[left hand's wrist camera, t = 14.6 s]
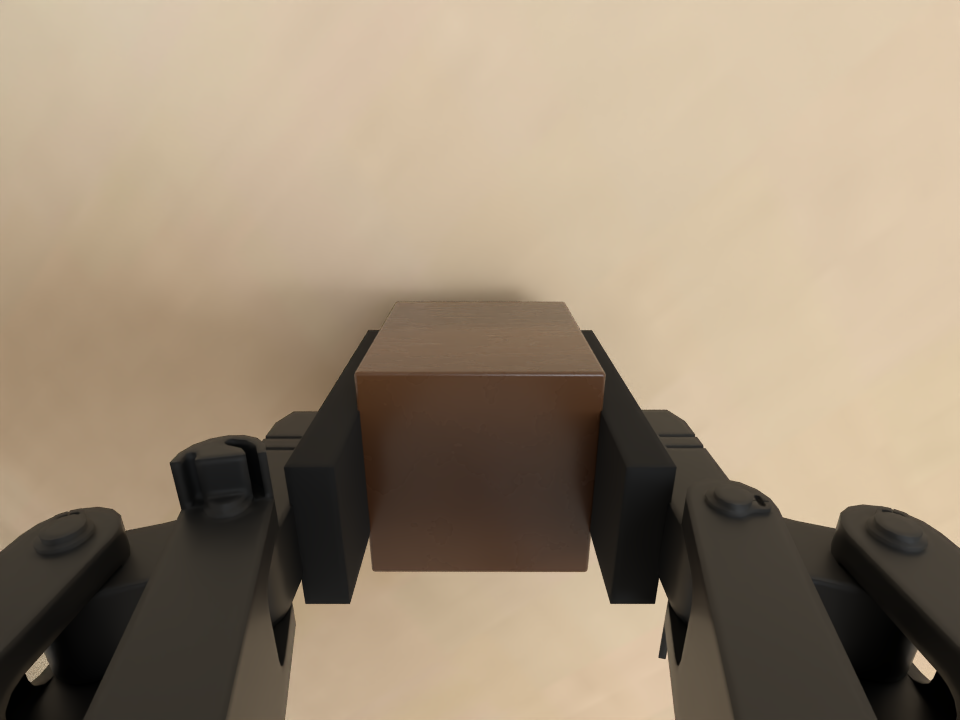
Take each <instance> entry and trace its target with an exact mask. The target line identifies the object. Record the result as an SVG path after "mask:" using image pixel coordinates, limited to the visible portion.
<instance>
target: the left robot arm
mask: <svg viewBox="0 0 960 720" xmlns="http://www.w3.org/2000/svg"><path fill="white" fill-rule="evenodd" d="M379 331H380V330H368V332H367V334H366V335H365V337H364V338H363V340H362V342H361V343H360V345H359V346H358V348H357V350H356V351H355V353H354V355H353V356H352V358H351V359H350V361H349V363H348V364H347V366H346V367H345V369H344V371H343V372H342V374H341V375H340V377H339V379H338V380H337V382H336V384H335V385H334V387H333V388H332V390H331V392H330V393H329V395H328V396H327V398H326V400H325V401H324V403H323V405H322V406H321V408H320V409H319V411H318V412H292V413H291V414H289V415H288V416H286V417H284V418H283V419H281V420H280V421H278V422H276V423H275V425H274V426H273V427H272V429H271V430H270V431H269V433H268V434H267V435H266V439H263V441H260V440H259V439H258V438H255V437H250V436H246V435H228V436H222V437H217V438H212V439H208V440H205V441H203V442H200V443H197V444H194V445H192V446H190V447H189V448H187V449H185V450H183V451H182V452H180V453H178V454H177V456H176V457H175V458H174V459H173V460H172V461H171V462H170V466H171V470H172V474H173V478H174V482H175V486H176V490H177V494H178V498H179V502H180V506H181V512H180V514H179V516H178V518H177V520H175V521H171V522H167V523H163V524H158V525H153V526H148V527H143V528H138V529H133V530H128V531H125V528H124V525H123V521H122V518H121V515H120V514H118V513H117V512H116V511H115V510H113V509H109V508H102V507H93V508H83V509H76V510H71V511H70V512H64V513H61V514H58V515H55V516H54V517H52V518H50V519H48V520H46V521H44V522H41V523H39V524H37V525H36V526H34V527H33V528H31V529H30V530H28V531H27V532H25V533H24V534H22V535H21V536H19V537H18V538H17V539H16V540H14V541H13V542H12V543H11V544H9V545H8V546H7V547H6V548H5V549H3V550H2V551H1V552H0V720H285V714H286V705H287V696H288V687H289V679H290V670H291V661H292V652H293V644H294V635H295V626H296V623H295V616H294V610H293V604H292V601H293V599H294V596H295V594H296V592H297V589H298V587H299V584H300V582H301V580H302V585H303V591H304V597H305V604H350V602H351V598H352V595H353V591H354V588H355V584H356V581H357V577H358V574H359V570H360V567H361V563H362V560H363V556H364V553H365V549H366V546H367V542H368V539H369V536H370V532H371V531H370V520H369V509H368V498H367V487H366V476H365V465H364V454H363V443H362V432H361V421H360V411H358V410H357V399H356V388H355V378H354V374H355V372H356V370H357V368H358V367H359V365H360V363H361V362H362V360H363V358H364V356H365V355H366V353H367V351H368V350H369V348H370V346H371V344H372V343H373V341H374V339H375V338H376V336H377V334H378V332H379ZM581 332H582V334H583V336H584V337H585V339H586V341H587V342H588V344H589V346H590V348H591V349H592V351H593V353H594V355H595V356H596V358H597V360H598V362H599V363H600V365H601V367H602V369H603V370H604V372H605V375H606V377H605V388H604V399H603V410H602V411H601V416H600V427H599V438H598V449H597V460H596V471H595V482H594V493H593V503H592V514H591V525H590V534H591V538H592V541H593V545H594V548H595V552H596V555H597V558H598V562H599V565H600V569H601V572H602V576H603V579H604V583H605V586H606V590H607V593H608V597H609V600H610V604H655V600H656V594H657V587H658V581H659V578H660V581H661V583H662V585H663V588H664V590H665V593H666V595H667V597H668V604H667V610H666V615H665V621H664V627H663V633H662V639H661V645H660V651H659V658H662V659H666V654H667V651H668V660H669V669H670V677H671V686H672V695H673V704H674V712H675V720H960V548H959V547H958V546H956V545H955V544H954V543H953V542H951V541H950V540H949V539H948V538H947V537H945V536H944V535H943V534H942V533H940V532H939V531H937V530H936V529H934V528H933V527H931V526H930V525H928V524H926V523H925V522H923V521H921V520H919V519H917V518H914V517H912V516H910V515H908V514H907V513H905V512H902V511H899V510H896V509H894V510H892V509H891V508H888V507H883V506H872V505H857V506H850V507H848V508H846V509H845V510H844V511H842V512H841V513H840V517H839V520H838V523H837V526H836V529H835V528H830V527H825V526H819V525H814V524H809V523H804V522H799V521H795V520H791V519H787V518H783V517H782V515H781V513H780V511H779V509H778V508H777V506H776V505H775V504H774V503H773V501H772V500H771V499H770V498H769V497H767V496H766V495H764V494H763V493H761V492H760V491H758V490H757V489H755V488H752V487H750V486H747V485H745V484H743V483H740V482H735V481H731V480H729V479H728V477H727V476H726V475H725V474H724V472H723V471H722V470H721V468H720V467H719V466H718V464H717V463H716V462H715V460H714V459H713V458H712V456H711V455H710V454H709V452H708V451H707V450H706V448H703V444H702V443H701V442H700V440H699V439H698V438H697V437H695V434H694V432H693V431H692V430H691V429H690V427H689V426H688V425H687V423H686V422H685V421H684V420H682V419H681V418H679V417H677V416H676V415H674V414H673V413H671V412H670V411H668V410H641V409H640V407H639V405H638V404H637V402H636V401H635V399H634V397H633V396H632V394H631V393H630V391H629V389H628V388H627V386H626V384H625V383H624V381H623V380H622V378H621V376H620V375H619V373H618V372H617V370H616V368H615V367H614V365H613V363H612V362H611V360H610V359H609V357H608V355H607V354H606V352H605V351H604V349H603V347H602V346H601V344H600V342H599V341H598V339H597V338H596V336H595V334H594V333H593V331H592V330H581ZM917 650H919V651H920V653H921V654H922V655H923V656H924V657H925V658H926V659H927V660H928V662H929V663H930V664H931V665H932V666H933V667H934V668H935V669H936V670H937V671H936V673H935V676H934V678H933V679H932V680H931V681H930V680H929V679H927V678H926V677H925V676H924V675H923V674H922V673H921V672H920V671H919V670H918V669H917V667H916V666H915V665H914V664H913V663H912V662H913V659H914V657H915V654H916V652H917ZM43 653H45V655H46V658H47V660H48V663H49V665H48V666H47V668H46V669H45V670H44V671H43V672H42V673H41V675H39V676H38V677H37V678H36V679H35V680H33V681H32V682H29V681H28V679H27V677H26V674H25V673H26V672H27V671H28V670H29V668H30V667H31V666H32V665H33V664H34V663H35V662H36V660H37V659H38V658H39V657H40V656H41V655H42V654H43Z"/></svg>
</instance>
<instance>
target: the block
mask: <svg viewBox="0 0 960 720" xmlns="http://www.w3.org/2000/svg"><path fill="white" fill-rule="evenodd" d="M605 377H606V375H605V372H604V370H603V369H602V367H601V365H600V363H599V362H598V360H597V358H596V356H595V355H594V353H593V351H592V349H591V348H590V346H589V344H588V342H587V341H586V339H585V337H584V336H583V334H582V332H581V330H580V329H579V327H578V325H577V323H576V322H575V320H574V318H573V316H572V315H571V313H570V311H569V309H568V308H567V306H566V304H565V303H564V302H396V303H395V305H394V307H393V309H392V310H391V312H390V314H389V315H388V317H387V319H386V321H385V322H384V324H383V326H382V327H381V329H380V331H379V332H378V334H377V336H376V338H375V339H374V341H373V343H372V344H371V346H370V348H369V350H368V351H367V353H366V355H365V356H364V358H363V360H362V362H361V363H360V365H359V367H358V368H357V370H356V372H355V374H354V378H355V388H356V399H357V410H358V411H360V421H361V432H362V443H363V454H364V465H365V476H366V487H367V498H368V509H369V520H370V531H371V532H370V536H369V541H370V551H371V562H372V569H373V571H375V572H586V571H587V569H588V561H589V550H590V539H591V534H590V525H591V514H592V503H593V493H594V482H595V471H596V460H597V449H598V438H599V427H600V416H601V411H602V410H603V399H604V388H605Z"/></svg>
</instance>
